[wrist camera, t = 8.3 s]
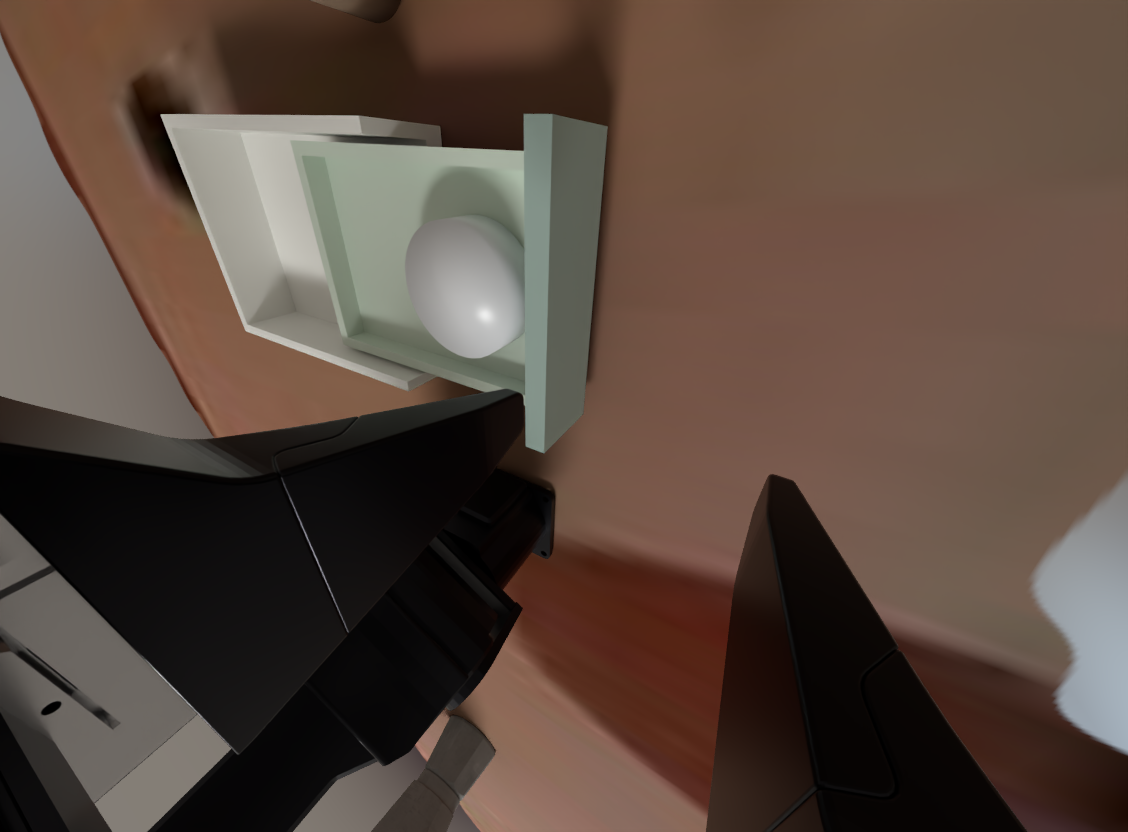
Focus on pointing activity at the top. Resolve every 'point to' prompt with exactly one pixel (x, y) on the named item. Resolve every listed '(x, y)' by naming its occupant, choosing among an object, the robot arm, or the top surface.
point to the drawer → (457, 188)
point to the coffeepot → (441, 781)
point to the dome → (467, 283)
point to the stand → (365, 8)
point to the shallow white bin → (280, 223)
